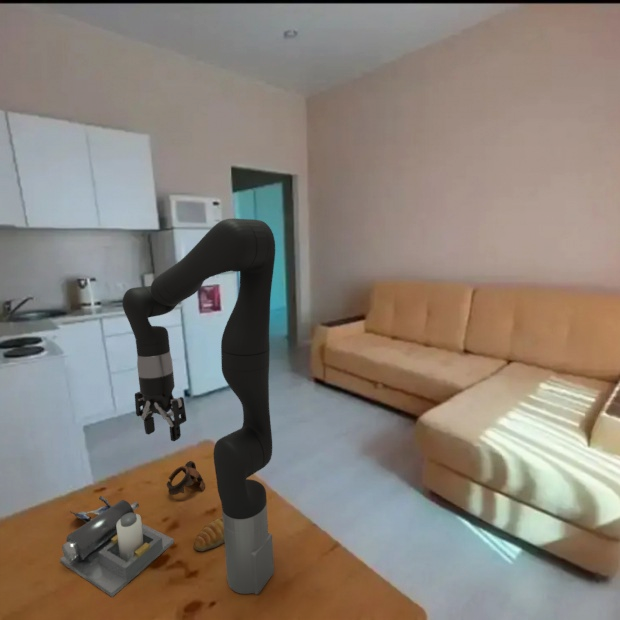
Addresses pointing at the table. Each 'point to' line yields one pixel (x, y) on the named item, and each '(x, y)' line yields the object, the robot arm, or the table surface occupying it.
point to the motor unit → (110, 550)
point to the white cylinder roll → (129, 535)
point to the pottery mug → (185, 478)
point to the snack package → (86, 518)
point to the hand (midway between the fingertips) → (162, 436)
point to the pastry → (210, 536)
